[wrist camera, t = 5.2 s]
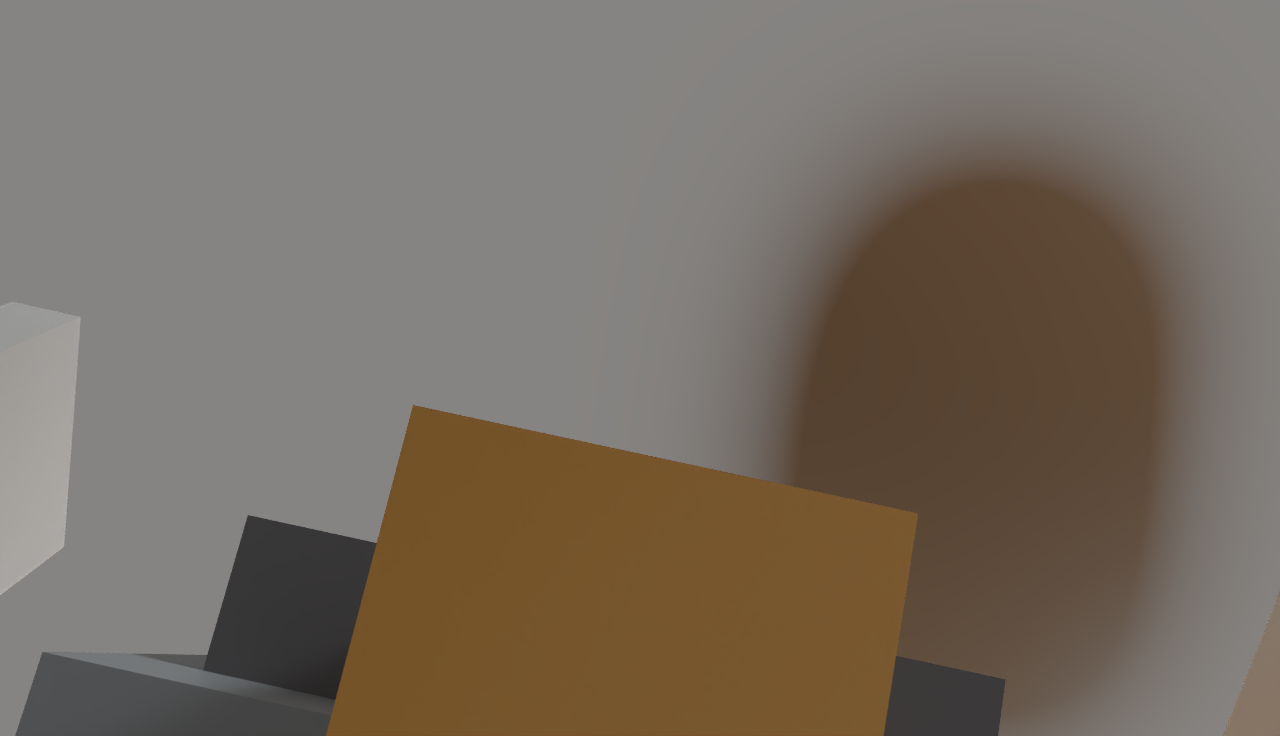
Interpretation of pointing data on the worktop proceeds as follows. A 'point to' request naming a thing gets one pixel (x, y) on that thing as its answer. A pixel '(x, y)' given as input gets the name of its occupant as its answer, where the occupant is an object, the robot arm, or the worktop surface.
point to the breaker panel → (160, 700)
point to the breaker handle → (617, 597)
